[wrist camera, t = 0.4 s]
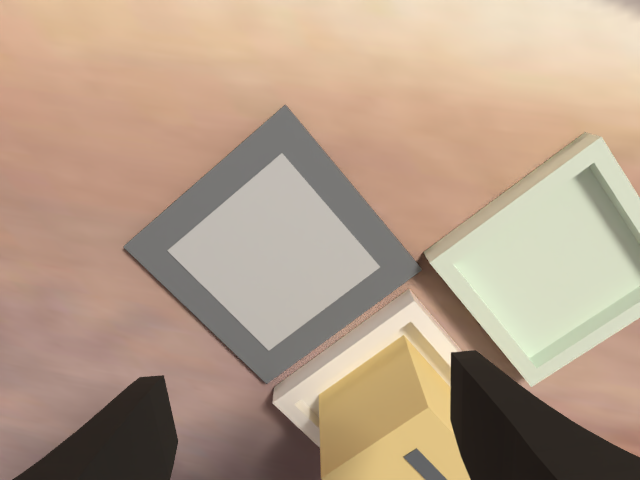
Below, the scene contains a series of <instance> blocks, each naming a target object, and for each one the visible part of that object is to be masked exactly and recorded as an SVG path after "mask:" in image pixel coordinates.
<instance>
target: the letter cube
mask: <svg viewBox="0 0 640 480" xmlns="http://www.w3.org/2000/svg"><path fill="white" fill-rule="evenodd" d="M450 391H451V388H450V386H449V385H448V384H447V383H446V382H445V381H444V380H443V379H442V377H441V376H440V375H439V374H438V373H437V372H436V371H435V370H434V368H433V367H432V366H431V365H430V364H429V363H428V362H427V361H426V359H425V358H424V357H423V356H422V355H421V354H420V353H419V352H418V350H417V349H416V348H415V347H414V346H413V345H412V344H411V343H410V341H409V340H408V339H407V338H406V337H405V336H404V335H403V336H401V337H400V338H398V339H397V340H396V341H394V342H393V343H391V344H390V345H388V346H387V347H386V348H384V349H383V350H381V351H380V352H379V353H377V354H376V355H374V356H373V357H372V358H370V359H369V360H367V361H366V362H364V363H363V364H362V365H360V366H359V367H357V368H356V369H355V370H353V371H352V372H350V373H349V374H348V375H346V376H345V377H343V378H342V379H340V380H339V381H338V382H336V383H335V384H333V385H332V386H331V387H329V388H328V389H326V390H325V391H324V392H322V393H321V394H319V427H320V461H321V479H322V480H471V479H470V477H469V475H468V472H467V470H466V468H465V465H464V463H463V460H462V458H461V455H460V452H459V448H458V445H457V442H456V438H455V435H454V431H453V428H452V424H451V421H450Z"/></svg>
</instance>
